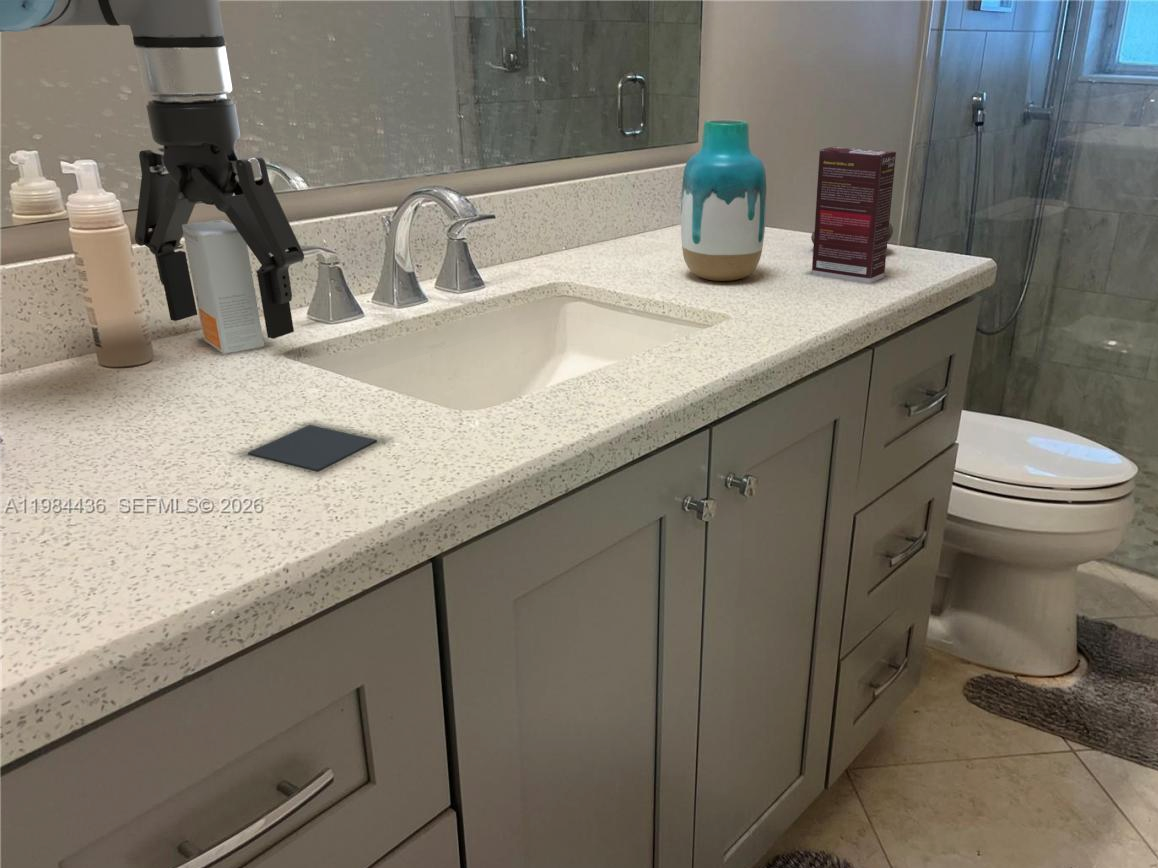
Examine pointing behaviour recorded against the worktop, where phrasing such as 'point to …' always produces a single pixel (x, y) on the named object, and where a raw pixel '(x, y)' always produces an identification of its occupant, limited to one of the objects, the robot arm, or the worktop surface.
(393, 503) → the worktop surface
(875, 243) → the supplement box
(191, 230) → the cosmetic box
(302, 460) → the mat
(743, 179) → the vase
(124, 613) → the worktop surface
